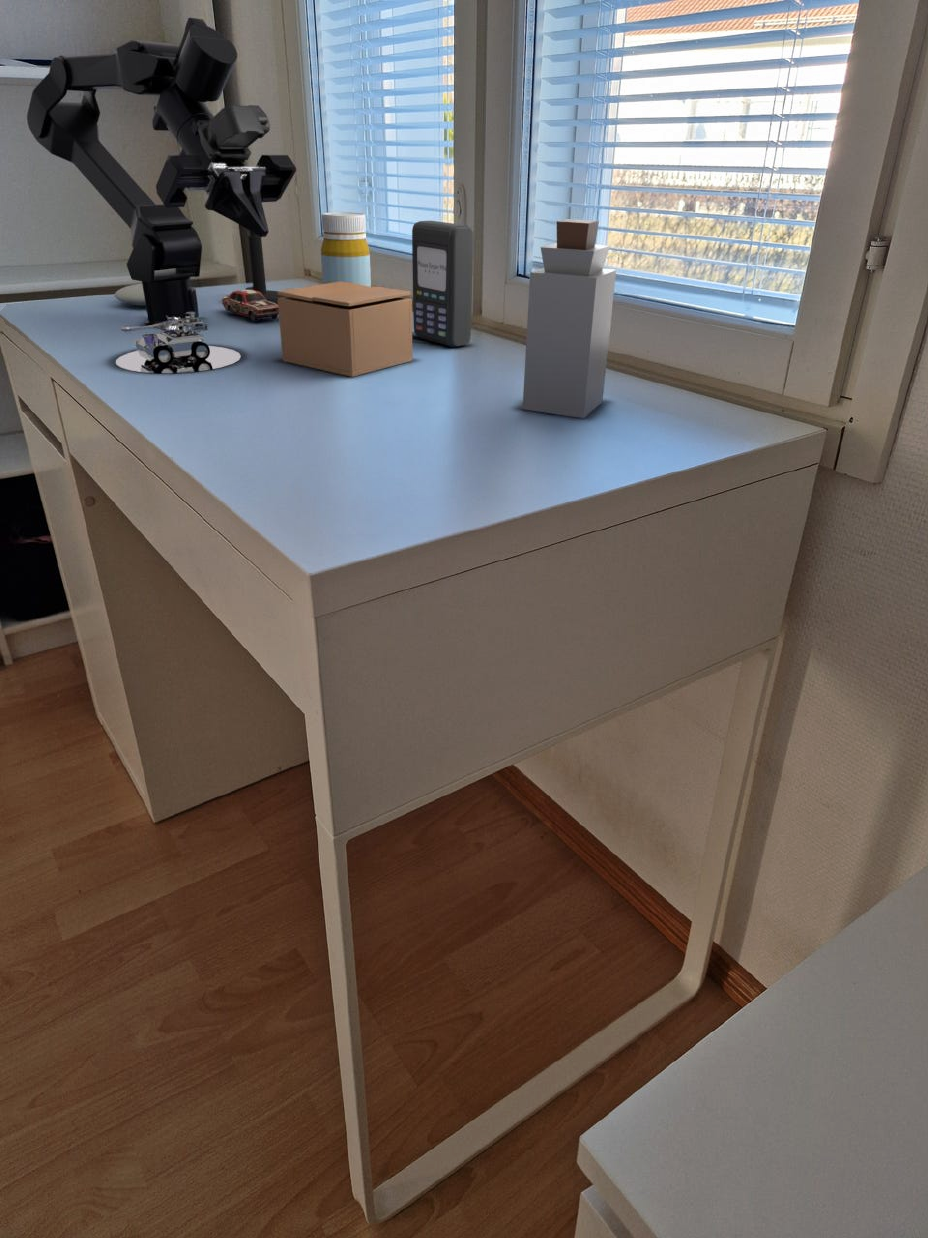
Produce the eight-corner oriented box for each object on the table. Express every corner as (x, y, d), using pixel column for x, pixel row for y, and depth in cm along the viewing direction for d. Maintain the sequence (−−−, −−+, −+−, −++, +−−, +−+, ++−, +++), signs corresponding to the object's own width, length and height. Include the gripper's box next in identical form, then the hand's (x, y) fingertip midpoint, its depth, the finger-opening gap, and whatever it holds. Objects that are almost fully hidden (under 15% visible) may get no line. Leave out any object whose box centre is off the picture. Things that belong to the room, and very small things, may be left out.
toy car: (100, 353, 106) (91, 309, 103) (213, 340, 114) (207, 298, 111) (139, 379, 96) (130, 330, 93) (260, 362, 104) (255, 317, 101)
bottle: (376, 320, 128) (372, 212, 121) (367, 329, 122) (362, 216, 115) (331, 319, 129) (325, 211, 121) (320, 328, 123) (312, 215, 115)
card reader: (409, 337, 118) (407, 220, 111) (431, 334, 120) (430, 219, 113) (450, 349, 112) (451, 226, 105) (473, 345, 115) (475, 225, 107)
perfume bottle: (602, 402, 91) (621, 220, 82) (583, 418, 86) (601, 225, 77) (544, 394, 94) (556, 216, 85) (522, 409, 88) (532, 221, 79)
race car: (254, 319, 135) (248, 288, 133) (284, 319, 126) (278, 286, 124) (225, 322, 133) (219, 291, 131) (253, 322, 123) (247, 289, 122)
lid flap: (277, 294, 101) (277, 290, 101) (341, 284, 108) (341, 281, 108) (311, 301, 98) (311, 297, 98) (374, 290, 105) (374, 287, 105)
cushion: (207, 300, 141) (205, 281, 139) (165, 312, 131) (161, 292, 129) (146, 295, 144) (143, 276, 142) (100, 307, 134) (96, 287, 132)
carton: (282, 361, 105) (276, 290, 101) (344, 346, 112) (341, 280, 108) (352, 377, 99) (348, 302, 94) (412, 360, 106) (411, 291, 102)
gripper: (153, 72, 94) (230, 188, 93) (279, 82, 106) (347, 183, 106) (125, 151, 102) (195, 258, 101) (246, 151, 115) (308, 245, 114)
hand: (265, 234), depth 106 cm, fingers closed
